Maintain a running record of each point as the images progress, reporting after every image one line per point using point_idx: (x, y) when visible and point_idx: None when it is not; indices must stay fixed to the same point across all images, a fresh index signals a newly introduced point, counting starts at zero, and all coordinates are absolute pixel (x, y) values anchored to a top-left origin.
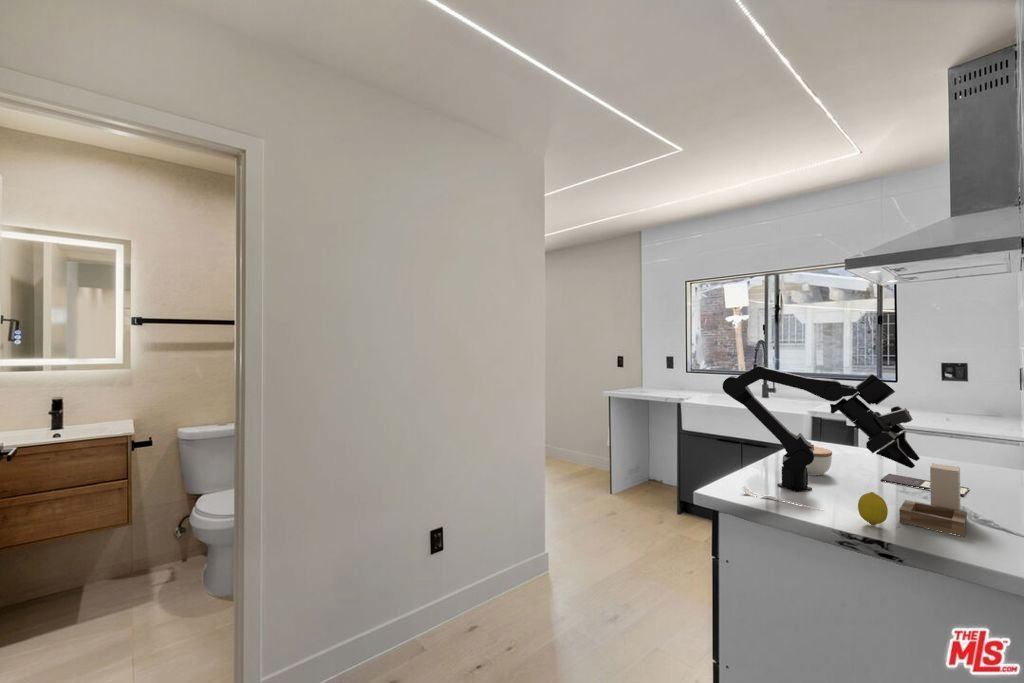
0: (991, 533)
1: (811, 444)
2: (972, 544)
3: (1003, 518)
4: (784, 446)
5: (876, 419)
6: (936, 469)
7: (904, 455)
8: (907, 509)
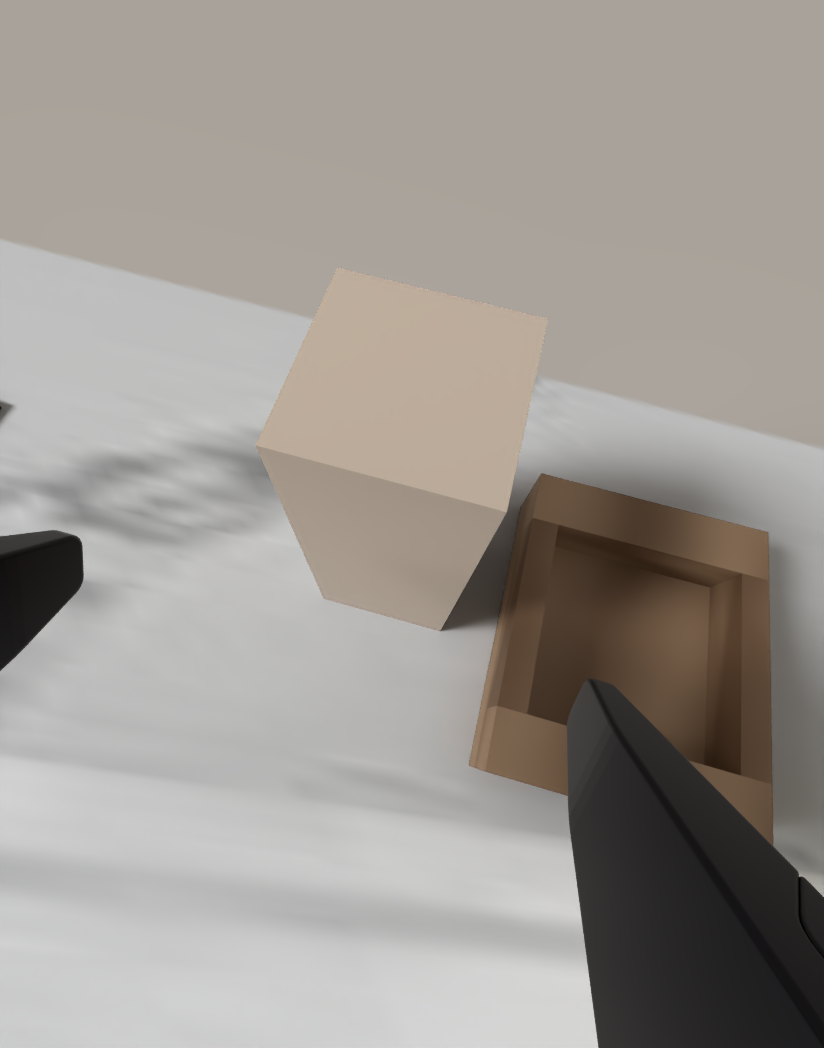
0: (577, 446)
1: None
2: (792, 551)
3: None
4: None
5: None
6: (515, 469)
7: (786, 872)
8: (732, 796)
